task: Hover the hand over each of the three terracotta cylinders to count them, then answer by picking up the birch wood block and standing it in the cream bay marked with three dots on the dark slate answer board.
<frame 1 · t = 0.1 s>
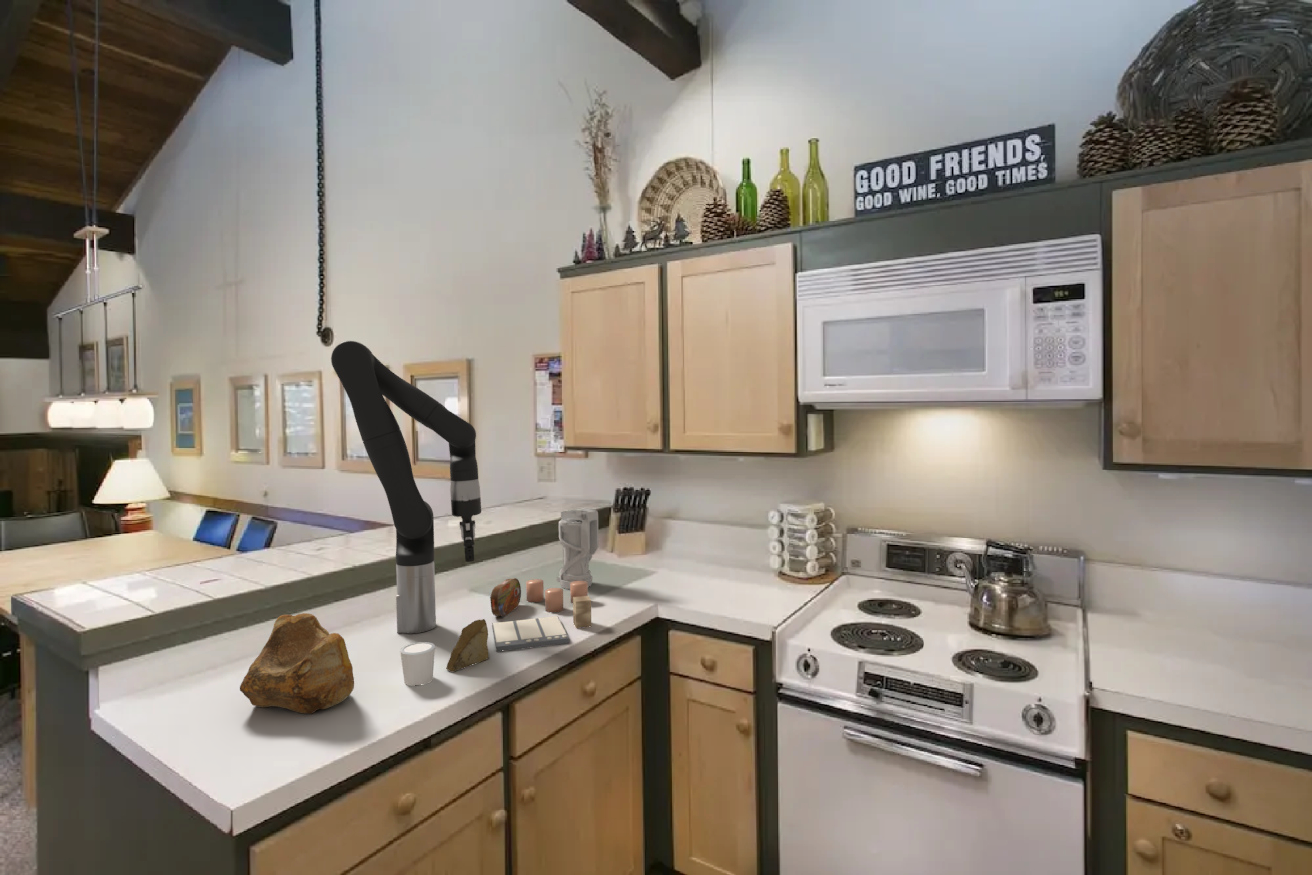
hand: (469, 557, 169), 17 cm above the counter, tool pointing down, fingers open, 8 cm apart
cylinder c: (535, 599, 189), on the counter
brown rough lump: (293, 702, 125), on the counter
lantern: (579, 586, 203), on the counter
rock: (467, 664, 143), on the counter
shot glass: (418, 681, 134), on the counter
cylinder a: (554, 609, 179), on the counter
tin: (506, 612, 178), on the counter
cylinder b: (579, 601, 186), on the counter
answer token: (582, 625, 167), on the counter
answer board: (529, 635, 159), on the counter
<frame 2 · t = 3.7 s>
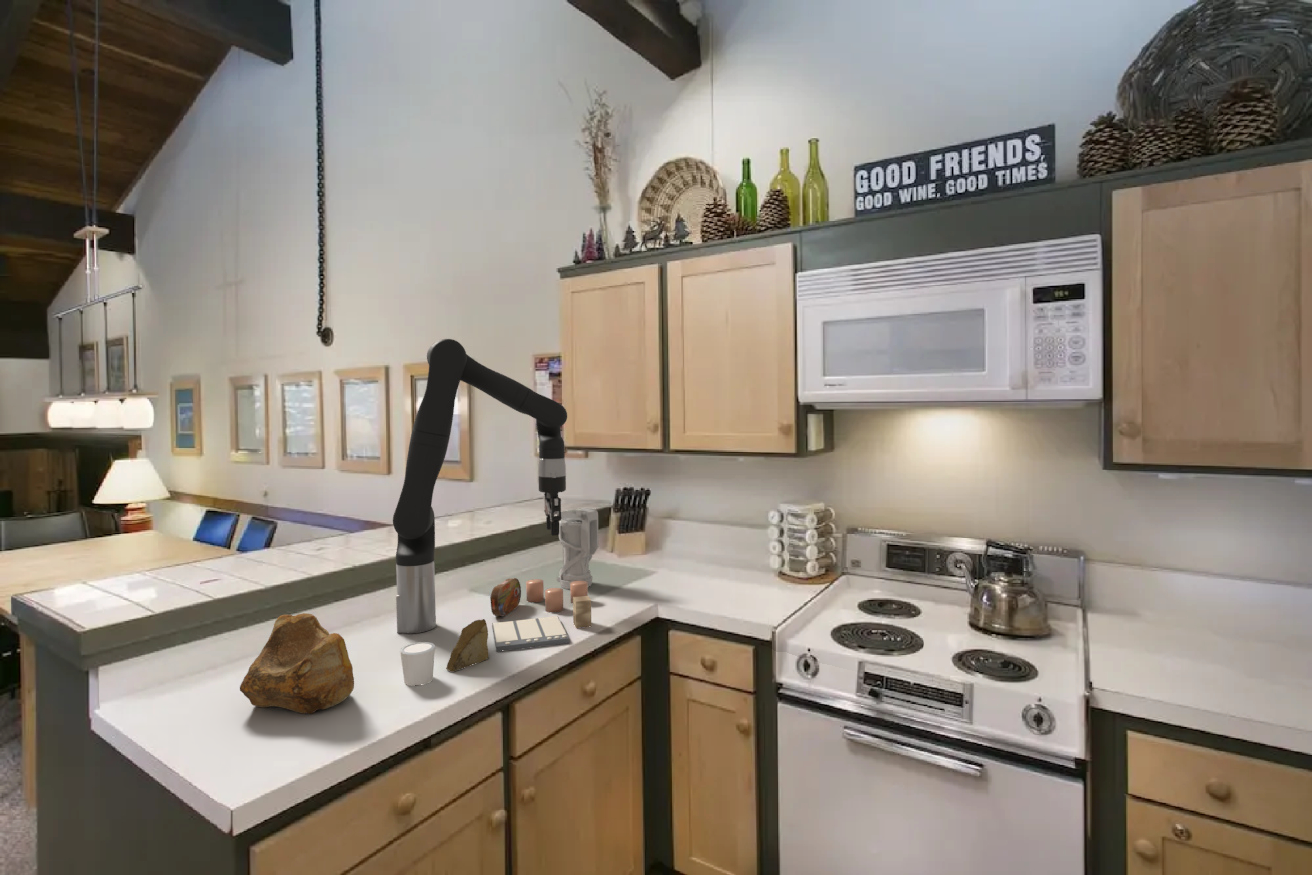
hand: (552, 532, 178), 22 cm above the counter, tool pointing down, fingers open, 8 cm apart
nothing on the counter moved.
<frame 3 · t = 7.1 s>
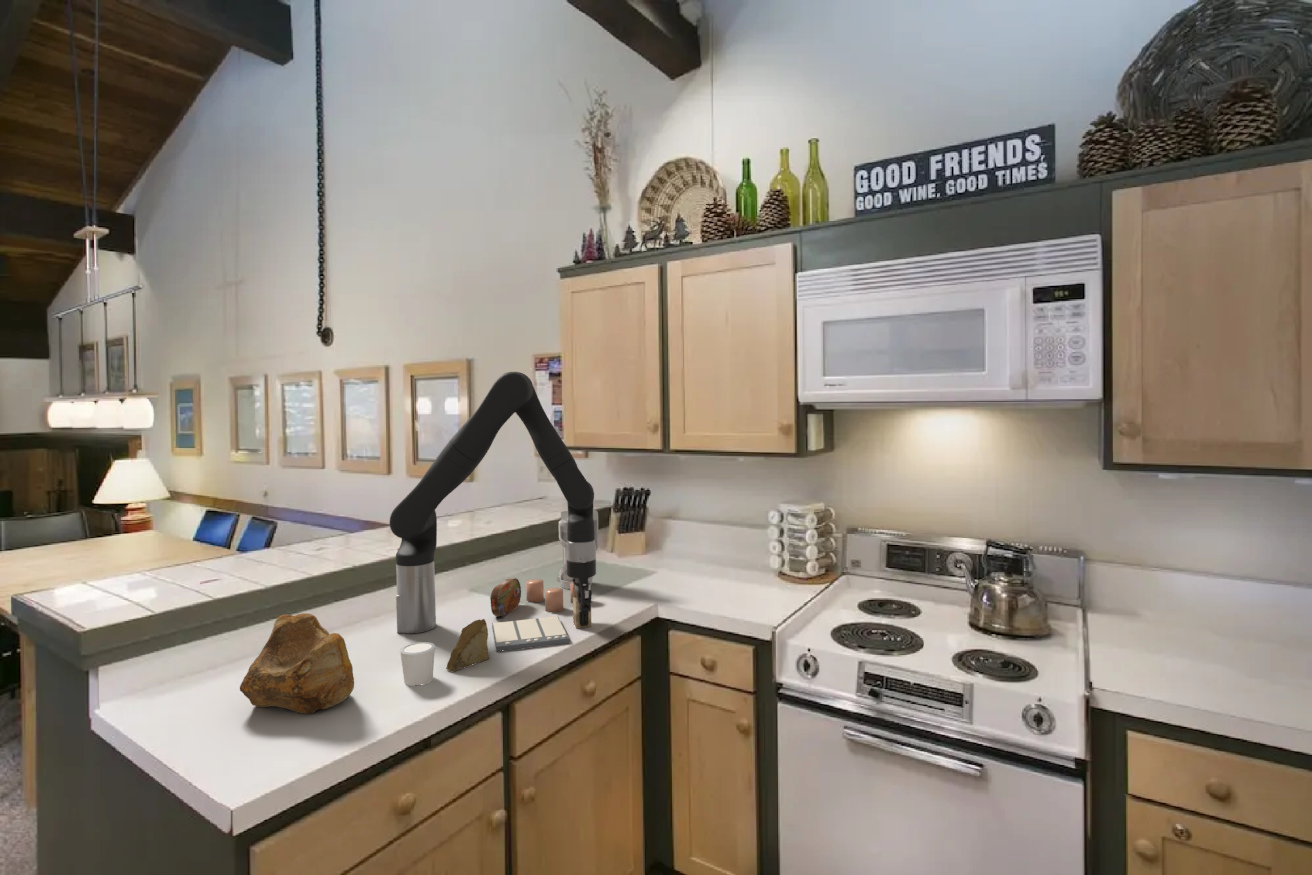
hand: (582, 622, 166), 1 cm above the counter, tool pointing down, fingers closed on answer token, 4 cm apart
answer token: (582, 624, 167), on the counter, touching gripper
everything else where it was.
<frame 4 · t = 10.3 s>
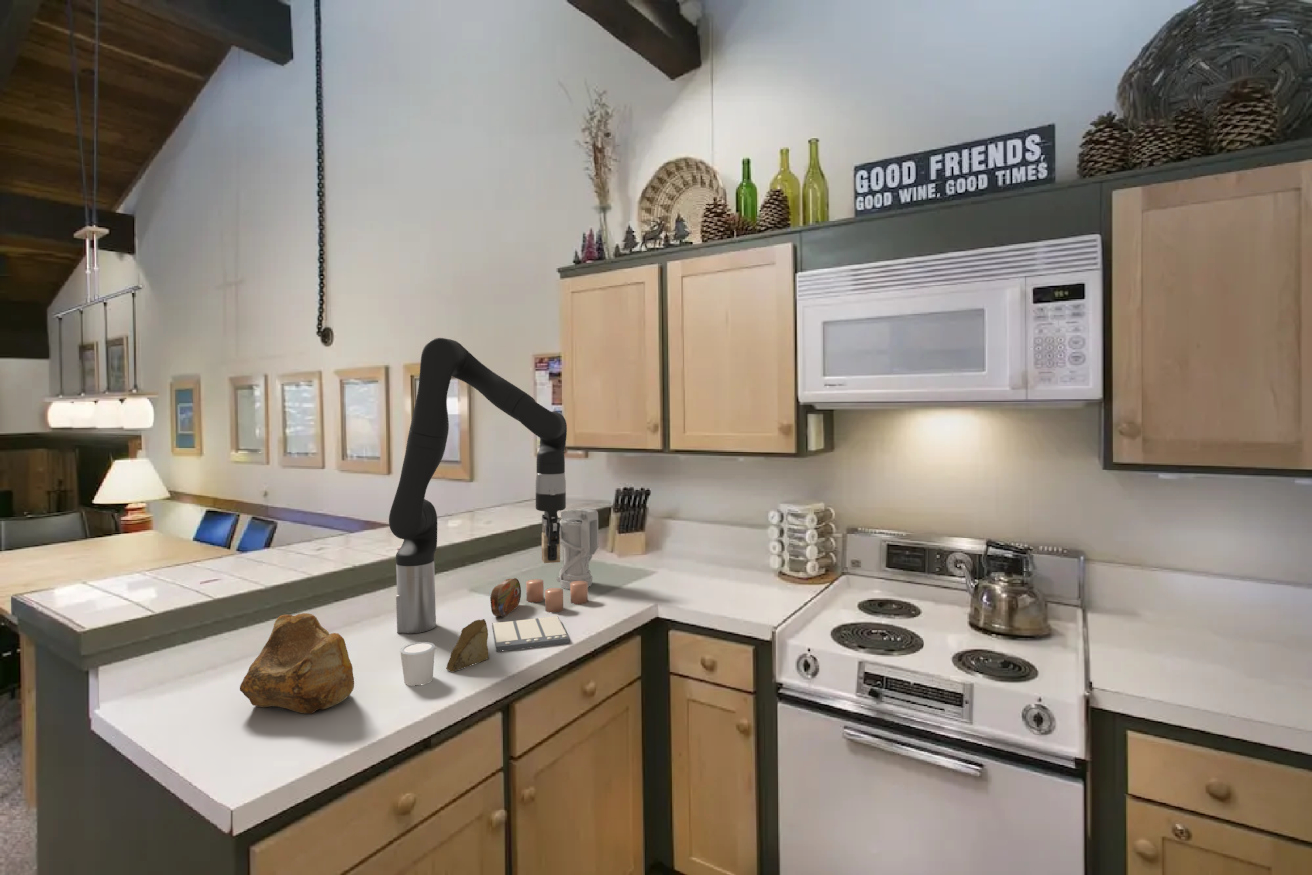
hand: (550, 557, 162), 19 cm above the counter, tool pointing down, fingers closed on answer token, 4 cm apart
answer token: (550, 560, 162), point 18 cm above the counter, touching gripper
everything else where it was.
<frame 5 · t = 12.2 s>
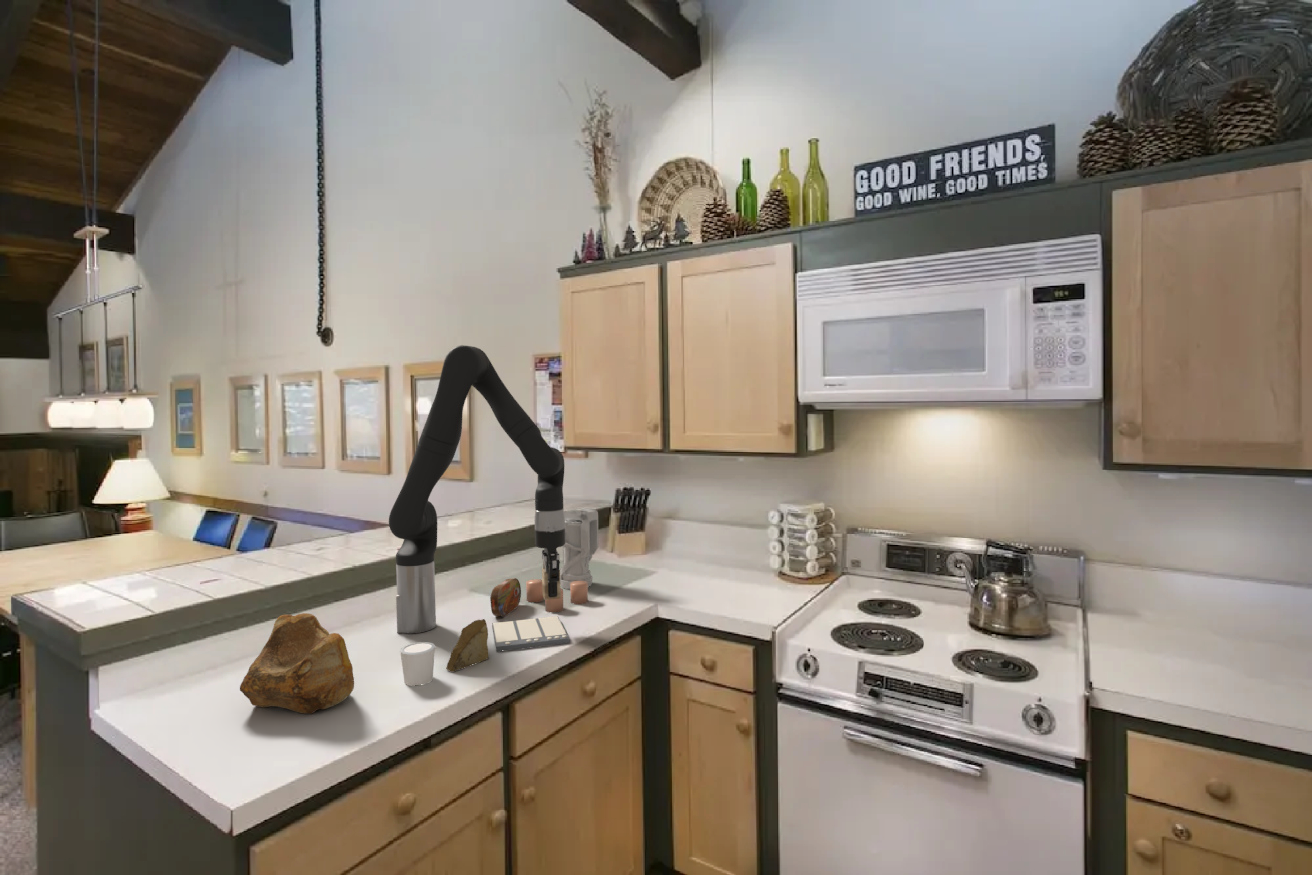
hand: (551, 593, 162), 10 cm above the counter, tool pointing down, fingers closed on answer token, 4 cm apart
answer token: (551, 596, 162), point 9 cm above the counter, touching gripper
everything else where it was.
when the fingers open (3 cm above the counter, at t = 13.8 s): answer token stays where it is, resting on answer board.
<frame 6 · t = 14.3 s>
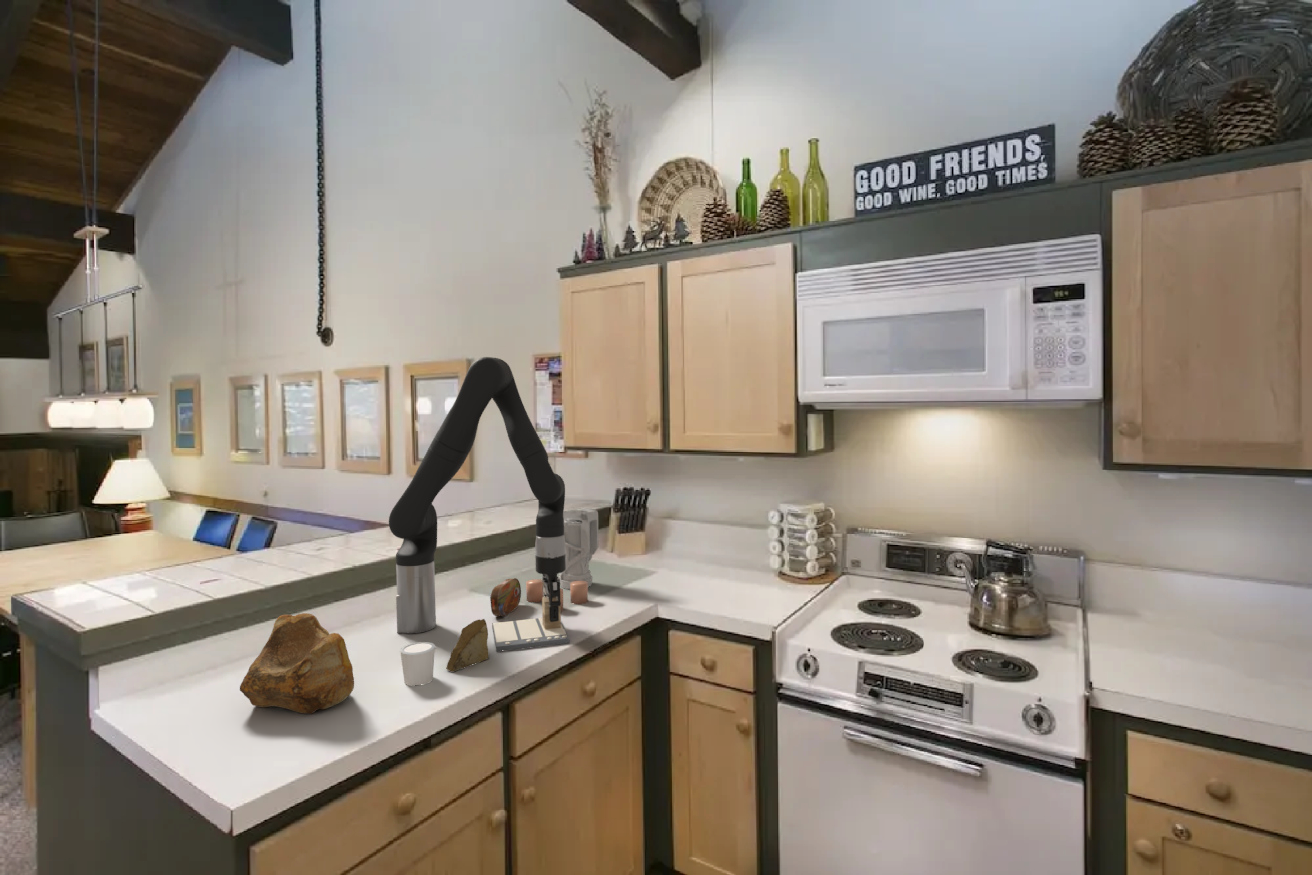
hand: (551, 615, 162), 4 cm above the counter, tool pointing down, fingers open, 8 cm apart
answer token: (551, 625, 162), point 1 cm above the counter, touching answer board
everything else where it was.
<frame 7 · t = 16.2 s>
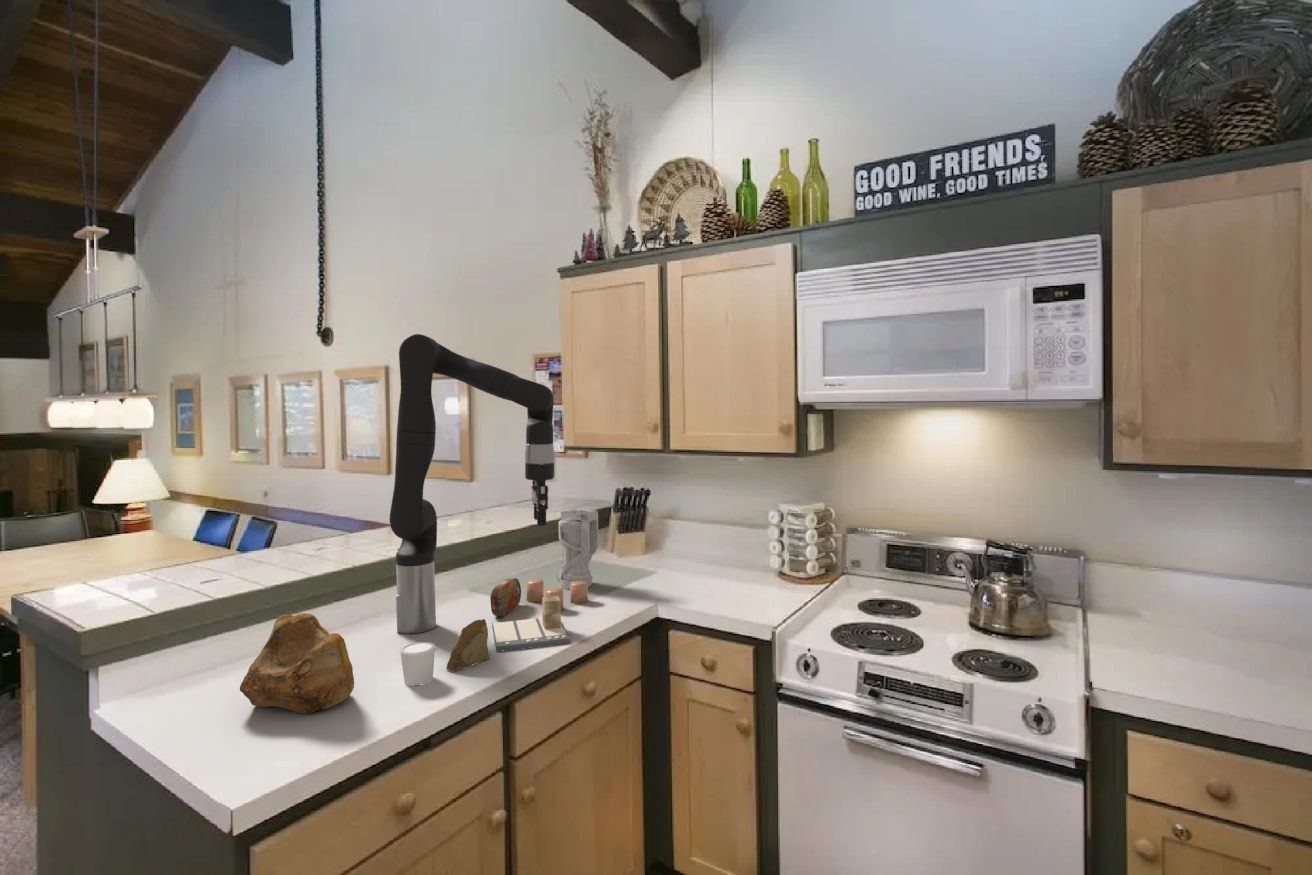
hand: (539, 522, 168), 27 cm above the counter, tool pointing down, fingers open, 8 cm apart
nothing on the counter moved.
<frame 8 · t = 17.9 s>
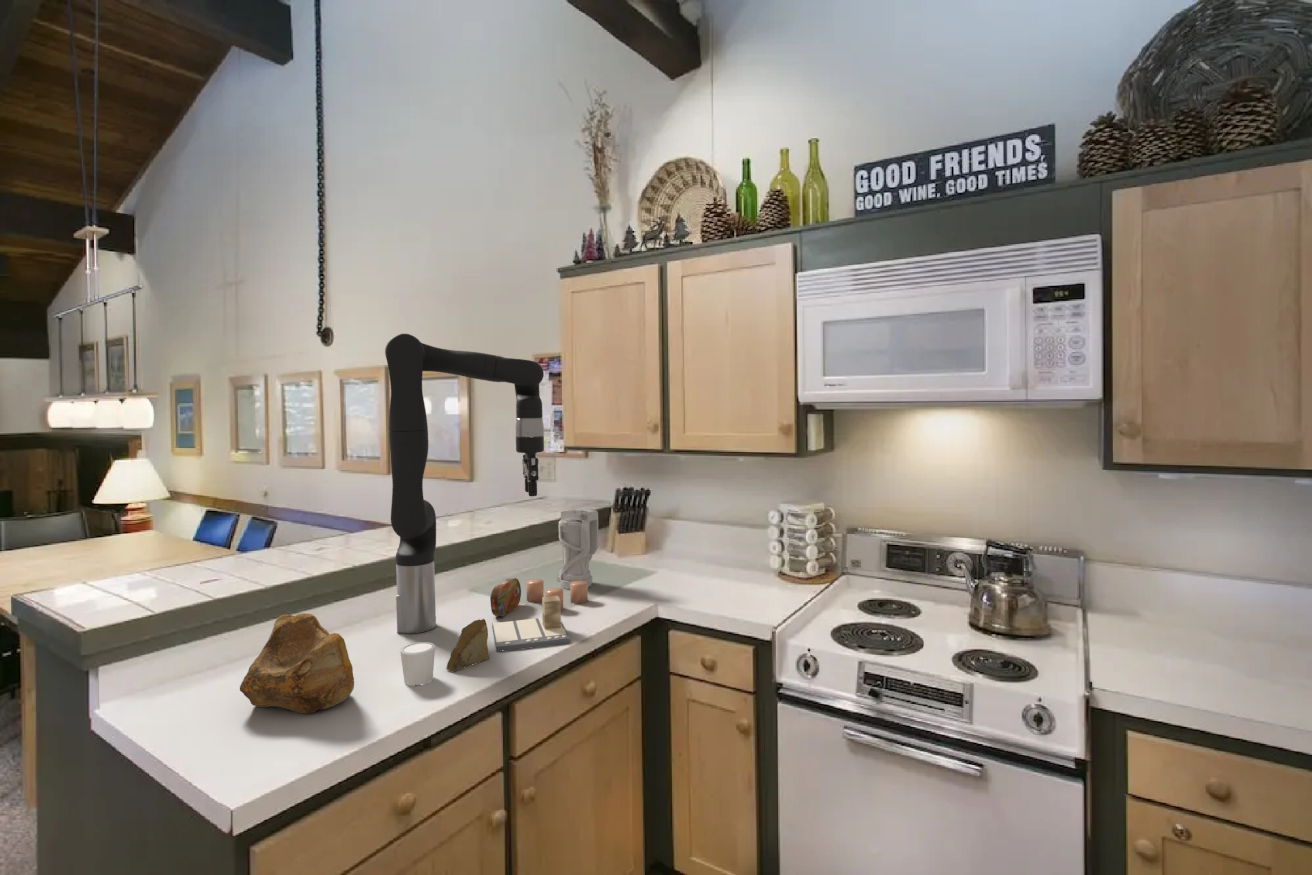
hand: (530, 493, 175), 33 cm above the counter, tool pointing down, fingers open, 8 cm apart
nothing on the counter moved.
at the end: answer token inside the target area on the answer board (0.1 cm from its centre), point 1.3 cm above the answer board's base; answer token tilted 0°; the gripper is holding nothing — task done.
